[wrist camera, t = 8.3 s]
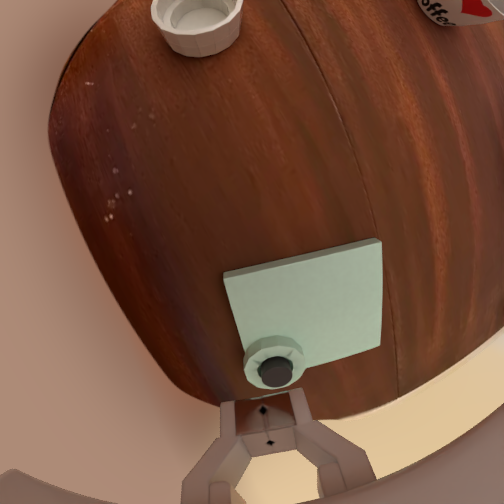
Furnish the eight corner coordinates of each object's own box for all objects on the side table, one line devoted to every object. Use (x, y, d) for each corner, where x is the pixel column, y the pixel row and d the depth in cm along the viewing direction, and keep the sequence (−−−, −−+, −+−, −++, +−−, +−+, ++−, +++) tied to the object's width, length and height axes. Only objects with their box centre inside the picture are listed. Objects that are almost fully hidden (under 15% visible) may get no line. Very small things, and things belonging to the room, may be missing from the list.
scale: (250, 373, 28) (252, 393, 25) (219, 273, 23) (217, 288, 21) (374, 340, 27) (385, 356, 25) (374, 237, 23) (390, 247, 20)
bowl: (171, 67, 17) (156, 45, 13) (162, 13, 15) (147, -14, 11) (247, 50, 17) (251, 23, 13) (232, -3, 15) (233, -34, 11)
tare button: (263, 379, 25) (264, 390, 23) (257, 359, 24) (258, 370, 22) (291, 373, 25) (294, 384, 23) (287, 352, 24) (290, 363, 22)
